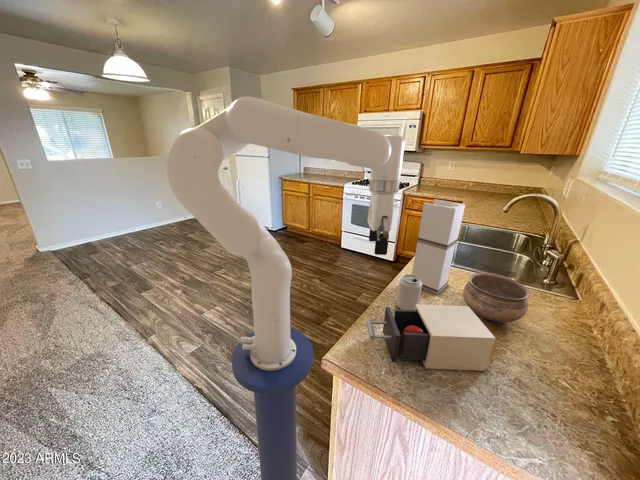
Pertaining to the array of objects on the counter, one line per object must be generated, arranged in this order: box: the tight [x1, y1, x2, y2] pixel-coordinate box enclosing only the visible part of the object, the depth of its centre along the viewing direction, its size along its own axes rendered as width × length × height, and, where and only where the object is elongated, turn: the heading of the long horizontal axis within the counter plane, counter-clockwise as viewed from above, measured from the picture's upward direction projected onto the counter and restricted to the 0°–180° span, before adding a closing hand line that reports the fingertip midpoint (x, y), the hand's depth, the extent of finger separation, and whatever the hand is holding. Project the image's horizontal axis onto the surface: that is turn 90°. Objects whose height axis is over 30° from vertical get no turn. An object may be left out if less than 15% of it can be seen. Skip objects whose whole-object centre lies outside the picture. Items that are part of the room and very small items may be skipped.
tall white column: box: [411, 198, 466, 295], centre depth 106 cm, size 11×11×35 cm
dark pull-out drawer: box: [365, 306, 431, 364], centre depth 75 cm, size 21×13×9 cm, turn 88°
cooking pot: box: [462, 272, 531, 323], centre depth 91 cm, size 25×19×12 cm
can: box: [396, 273, 422, 310], centre depth 94 cm, size 8×8×12 cm
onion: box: [402, 325, 424, 339], centre depth 73 cm, size 6×6×8 cm
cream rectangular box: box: [415, 303, 496, 372], centre depth 75 cm, size 16×14×11 cm
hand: (377, 247), depth 74 cm, fingers open, 9 cm apart
